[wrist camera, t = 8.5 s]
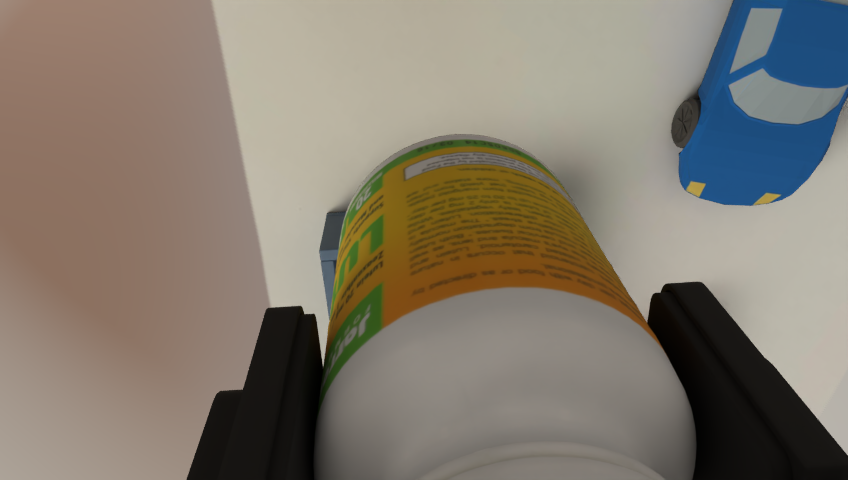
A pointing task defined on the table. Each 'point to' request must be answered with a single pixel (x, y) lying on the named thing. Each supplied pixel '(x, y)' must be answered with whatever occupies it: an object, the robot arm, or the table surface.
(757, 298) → the table surface
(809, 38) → the toy car
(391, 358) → the supplement bottle
